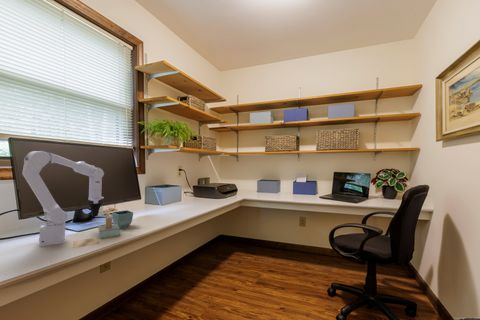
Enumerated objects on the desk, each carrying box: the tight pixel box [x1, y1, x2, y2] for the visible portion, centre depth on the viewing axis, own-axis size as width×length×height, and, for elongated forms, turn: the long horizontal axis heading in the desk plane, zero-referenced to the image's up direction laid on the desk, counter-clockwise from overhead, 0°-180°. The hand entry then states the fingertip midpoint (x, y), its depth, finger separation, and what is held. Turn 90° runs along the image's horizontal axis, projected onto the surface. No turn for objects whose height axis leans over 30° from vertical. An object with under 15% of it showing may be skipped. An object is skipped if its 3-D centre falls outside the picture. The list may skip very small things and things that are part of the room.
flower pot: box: [111, 210, 134, 230], centre depth 133 cm, size 9×9×9 cm
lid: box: [97, 216, 119, 232], centre depth 119 cm, size 9×9×6 cm
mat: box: [72, 236, 100, 249], centre depth 108 cm, size 10×10×1 cm
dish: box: [97, 229, 121, 240], centre depth 119 cm, size 9×9×4 cm
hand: (94, 214), depth 122 cm, fingers open, 7 cm apart
